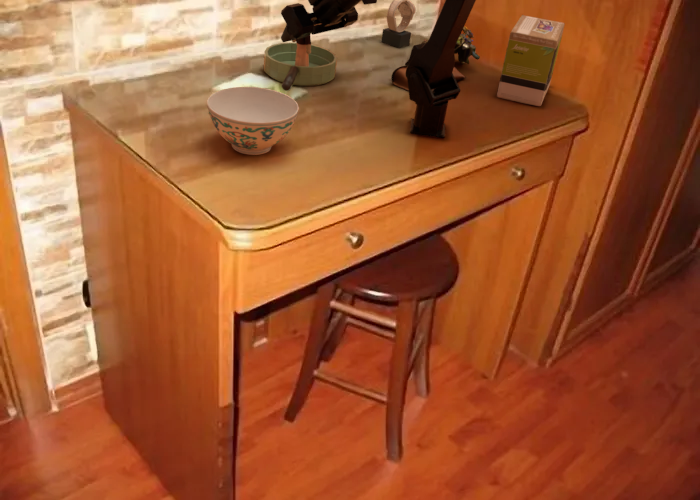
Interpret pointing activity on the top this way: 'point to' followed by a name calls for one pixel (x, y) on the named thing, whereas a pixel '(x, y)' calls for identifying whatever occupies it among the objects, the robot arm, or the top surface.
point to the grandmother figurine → (303, 51)
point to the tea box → (530, 60)
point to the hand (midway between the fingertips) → (297, 36)
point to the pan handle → (290, 78)
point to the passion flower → (464, 47)
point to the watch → (398, 34)
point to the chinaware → (252, 117)
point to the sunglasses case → (401, 79)
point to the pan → (316, 73)
